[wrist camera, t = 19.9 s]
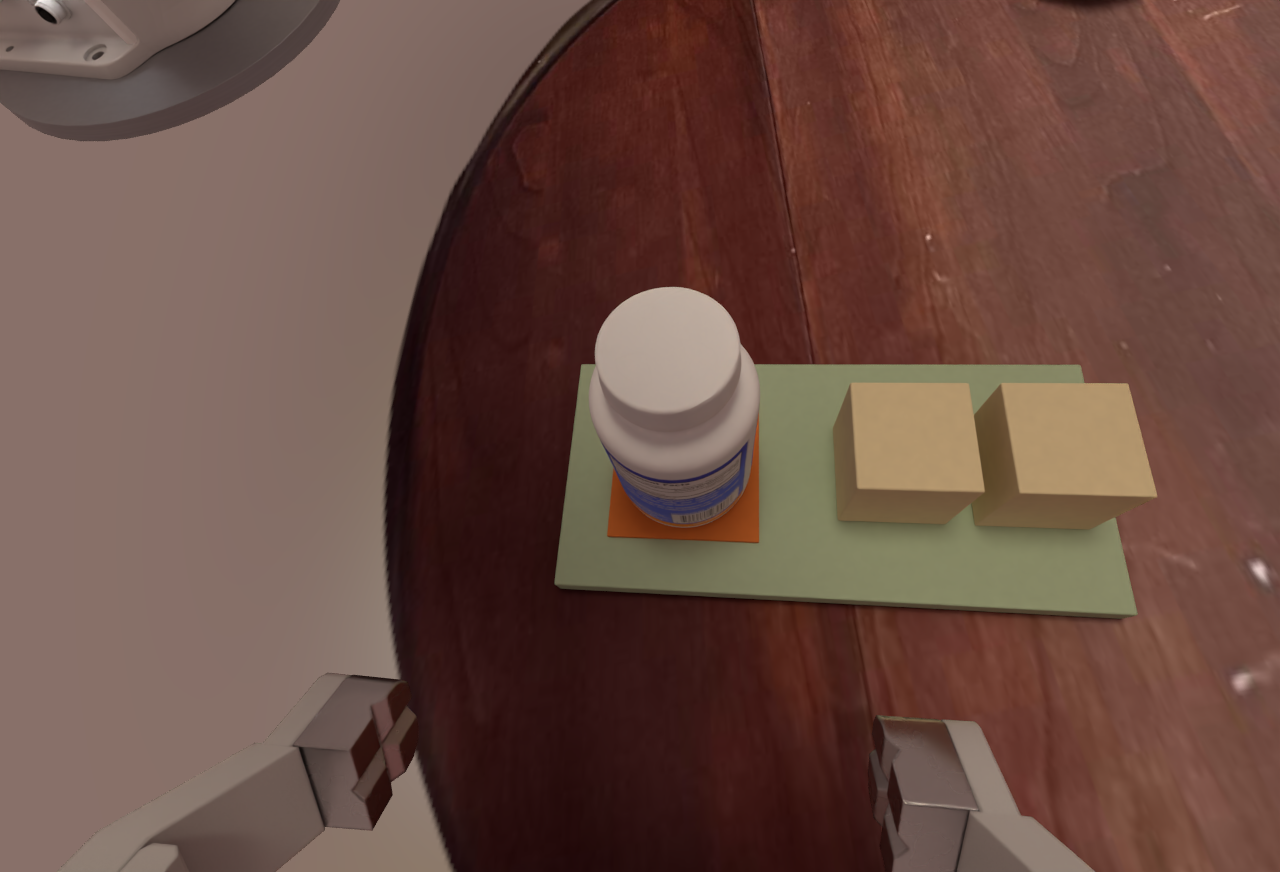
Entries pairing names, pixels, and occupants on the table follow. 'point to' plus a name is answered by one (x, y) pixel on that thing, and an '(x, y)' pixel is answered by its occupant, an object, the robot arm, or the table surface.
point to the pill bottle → (675, 405)
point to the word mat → (843, 547)
